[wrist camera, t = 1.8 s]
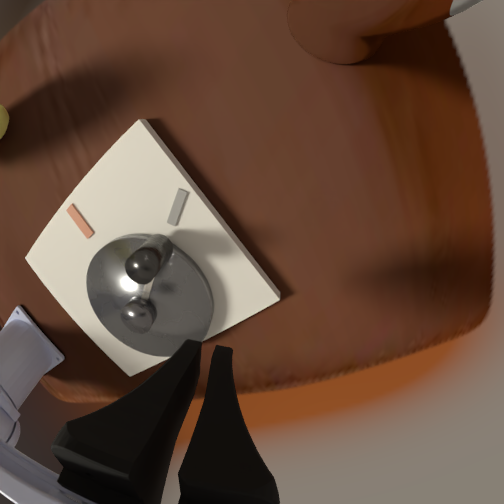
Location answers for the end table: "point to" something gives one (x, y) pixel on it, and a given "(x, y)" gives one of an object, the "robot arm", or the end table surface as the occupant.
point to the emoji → (3, 120)
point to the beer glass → (361, 24)
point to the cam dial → (149, 294)
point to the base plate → (147, 222)
